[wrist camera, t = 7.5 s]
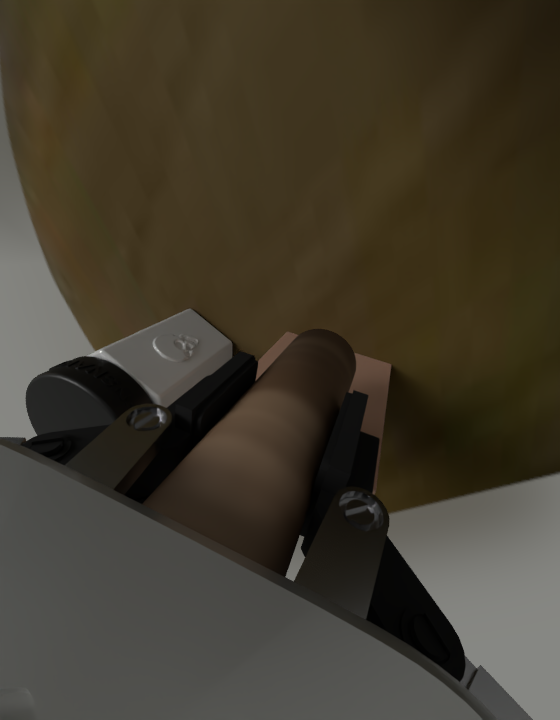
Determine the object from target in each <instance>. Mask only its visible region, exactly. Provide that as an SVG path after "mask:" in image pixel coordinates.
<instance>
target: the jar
mask: <svg viewBox="0 0 560 720" xmlns="http://www.w3.org/2000/svg"><path fill="white" fill-rule="evenodd" d="M231 358H232V342H231V341H230V340H229V339H228V338H227V337H225V336H224V335H223V334H222V333H220V332H219V331H218V330H217V329H215V328H214V327H213V326H212V325H211V324H209V323H208V322H207V321H206V320H204V319H203V318H202V317H201V316H200V315H198V314H197V313H196V312H195V311H194V310H192V309H187V310H185V311H183V312H181V313H178V314H176V315H174V316H172V317H170V318H167V319H165V320H163V321H161V322H159V323H157V324H154V325H152V326H150V327H148V328H146V329H143V330H141V331H139V332H137V333H135V334H132V335H130V336H128V337H126V338H124V339H121V340H119V341H117V342H115V343H113V344H110V345H108V346H106V347H104V348H102V349H99V350H97V351H95V352H93V353H91V354H89V355H87V356H84V357H78V358H76V359H73V360H70V361H66V362H63V363H61V364H59V365H56V366H54V367H52V368H50V369H49V371H47V372H44V373H42V374H40V375H38V376H37V377H35V378H34V379H33V380H32V381H31V382H30V384H29V386H28V388H27V392H26V407H27V412H28V416H29V419H30V421H31V424H32V426H33V428H34V430H35V432H36V434H37V435H41V434H45V433H49V432H56V431H64V430H72V429H79V428H87V427H95V426H103V425H110V424H112V423H113V422H114V421H115V420H116V419H118V418H119V417H120V416H121V415H122V414H123V413H124V412H126V411H127V410H129V409H130V408H132V407H135V406H137V405H142V404H157V405H161V406H163V407H166V408H167V407H168V406H169V405H171V404H172V403H173V402H174V401H176V400H177V399H178V398H179V397H181V396H182V395H183V394H184V393H186V392H187V391H188V390H189V389H191V388H192V387H193V386H194V385H196V384H197V383H198V382H199V381H201V380H202V379H203V378H204V377H206V376H208V375H211V374H213V373H214V372H215V371H216V370H218V369H219V368H220V367H221V366H223V365H224V364H225V363H226V362H227V361H229V360H230V359H231Z"/></svg>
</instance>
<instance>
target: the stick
mask: <svg viewBox="0 0 560 720" xmlns="http://www.w3.org/2000/svg"><path fill="white" fill-rule="evenodd" d="M355 372H356V358H355V354H354V352H353V350H352V348H351V346H350V345H349V344H348V342H347V341H346V340H345V339H343V338H342V337H341V336H339V335H338V334H336V333H334V332H332V331H329V330H324V329H312V330H308V331H305V332H303V333H301V334H300V335H298V336H297V337H296V338H295V339H294V340H293V341H292V342H291V343H290V344H289V345H288V346H287V348H286V349H285V350H284V351H283V352H282V353H281V354H280V355H279V356H278V357H277V358H276V359H275V361H274V362H273V363H272V364H271V365H270V366H269V367H268V368H267V369H266V370H265V371H264V372H263V374H262V375H261V376H260V377H259V378H258V379H257V380H256V381H255V382H254V383H253V384H252V385H251V387H250V388H249V389H248V390H247V391H246V392H245V393H244V394H243V395H242V396H241V397H240V398H239V400H238V401H237V402H236V403H235V404H234V405H233V406H232V407H231V408H230V409H229V410H228V411H227V413H226V414H225V415H224V416H223V417H222V418H221V419H220V420H219V421H218V422H217V423H216V424H215V426H214V427H213V428H212V429H211V430H210V431H209V432H208V433H207V434H206V435H205V436H204V437H203V439H202V440H201V441H200V442H199V443H198V444H197V445H196V446H195V447H194V448H193V449H192V450H191V452H190V453H189V454H188V455H187V456H186V457H185V458H184V459H183V460H182V461H181V462H180V463H179V465H178V466H177V467H176V468H175V469H174V470H173V471H172V472H171V473H170V474H169V475H168V476H167V478H166V479H165V480H164V481H163V482H162V483H161V484H160V485H159V486H158V487H157V488H156V489H155V491H154V492H153V493H152V494H151V495H150V496H149V497H148V498H147V499H146V500H145V501H144V502H143V504H142V505H144V506H146V507H148V508H150V509H152V510H154V511H156V512H158V513H160V514H162V515H164V516H166V517H168V518H170V519H172V520H174V521H176V522H178V523H180V524H182V525H184V526H186V527H188V528H190V529H192V530H194V531H196V532H198V533H200V534H202V535H204V536H206V537H207V538H209V539H211V540H213V541H215V542H217V543H219V544H221V545H223V546H225V547H227V548H229V549H231V550H233V551H235V552H237V553H239V554H241V555H243V556H245V557H247V558H249V559H251V560H252V561H254V562H256V563H258V564H260V565H262V566H264V567H266V568H268V569H270V570H272V571H274V572H276V573H278V574H280V575H282V576H284V577H285V576H286V573H287V570H288V568H289V565H290V562H291V559H292V556H293V553H294V550H295V547H296V544H297V541H298V538H299V535H300V533H301V530H302V527H303V524H304V521H305V518H306V515H307V512H308V509H309V506H310V502H311V492H312V489H313V486H314V483H315V480H316V477H317V474H318V471H319V468H320V465H321V462H322V459H323V456H324V453H325V450H326V448H327V445H328V442H329V439H330V436H331V434H332V431H333V428H334V425H335V423H336V420H337V417H338V414H339V411H340V409H341V406H342V403H343V400H344V397H345V395H346V392H349V390H350V387H351V384H352V381H353V378H354V375H355Z"/></svg>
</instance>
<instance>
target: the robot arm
mask: <svg viewBox="0 0 560 720" xmlns="http://www.w3.org/2000/svg"><path fill="white" fill-rule="evenodd" d="M257 369H258V361H256V360H255V357H254V356H253V355H250V354H247V353H244V352H241V351H240V352H239V353H237V354H236V355H235V356H234V357H232V358H231V359H230V360H229V361H227V362H226V363H225V364H224V365H223V366H221V367H220V368H219V369H218V370H216V371H215V372H214V373H213V374H211V375H208V376H206V377H204V378H203V379H202V380H201V381H199V382H198V383H197V384H196V385H194V386H193V387H192V388H191V389H189V390H188V391H187V392H186V393H184V394H183V395H182V396H181V397H179V398H178V399H177V400H176V401H174V402H173V403H172V404H171V405H169V406H168V407H167V408H166V407H163V406H161V405H157V404H142V405H137V406H135V407H132V408H130V409H129V410H127V411H126V412H124V413H123V414H122V415H121V416H120V417H119V418H118V419H116V420H115V421H114V422H113V423H112V424H110V425H103V426H95V427H87V428H79V429H72V430H64V431H56V432H49V433H45V434H41V435H38V436H36V437H33V438H31V439H30V440H28V441H26V439H25V438H17V437H16V438H15V437H12V438H11V437H0V720H533V719H532V718H531V717H530V716H529V715H528V714H527V713H526V712H525V711H524V710H523V709H522V708H521V707H520V706H519V705H518V704H517V703H516V701H515V700H514V699H513V698H512V697H511V696H510V695H509V694H508V693H507V692H506V691H505V690H504V689H503V688H502V687H501V686H500V685H499V684H498V683H497V682H496V681H495V679H494V678H493V677H492V676H491V675H490V674H489V673H488V672H487V671H486V670H485V669H484V668H483V667H482V666H481V665H480V666H479V667H478V668H476V667H475V666H474V665H473V664H472V663H471V662H470V661H469V660H468V659H467V657H465V655H464V650H463V647H462V644H461V642H460V639H459V637H458V635H457V633H456V632H455V630H454V628H453V627H452V625H451V624H450V622H449V621H448V619H447V618H446V617H445V615H444V614H443V613H442V611H441V610H440V609H439V607H438V606H437V605H436V603H435V601H434V600H433V599H432V597H431V596H430V594H429V593H428V592H427V590H426V589H425V588H424V586H423V585H422V583H421V582H420V581H419V579H418V578H417V576H416V575H415V574H414V572H413V571H412V570H411V568H410V567H409V565H408V564H407V563H406V561H405V560H404V558H403V557H402V556H401V554H400V553H399V551H398V550H397V549H396V547H395V546H394V545H393V543H392V542H391V540H390V539H389V538H388V536H387V532H388V527H389V515H388V512H387V509H386V508H385V506H384V504H383V503H382V502H381V501H380V500H379V499H378V498H377V497H376V496H375V495H374V494H373V487H374V479H375V472H376V464H377V457H378V449H379V442H380V439H379V438H378V437H375V436H373V435H370V434H367V433H364V432H362V431H361V427H362V422H363V418H364V414H365V409H366V405H367V400H368V396H369V395H367V394H364V393H361V392H358V391H355V390H353V393H349V392H346V395H345V397H344V400H343V403H342V406H341V409H340V411H339V414H338V417H337V420H336V423H335V425H334V428H333V431H332V434H331V436H330V439H329V442H328V445H327V448H326V450H325V453H324V456H323V459H322V462H321V465H320V468H319V471H318V474H317V477H316V480H315V483H314V486H313V489H312V492H311V502H310V506H309V509H308V512H307V515H306V518H305V521H304V524H303V527H302V530H301V533H300V535H301V536H304V540H303V543H302V546H301V550H302V552H303V554H304V556H305V559H304V562H303V564H302V566H301V568H300V570H299V572H298V574H297V576H296V578H295V580H294V582H293V581H291V580H289V579H287V578H286V577H284V576H282V575H280V574H278V573H276V572H274V571H272V570H270V569H268V568H266V567H264V566H262V565H260V564H258V563H256V562H254V561H252V560H251V559H249V558H247V557H245V556H243V555H241V554H239V553H237V552H235V551H233V550H231V549H229V548H227V547H225V546H223V545H221V544H219V543H217V542H215V541H213V540H211V539H209V538H207V537H206V536H204V535H202V534H200V533H198V532H196V531H194V530H192V529H190V528H188V527H186V526H184V525H182V524H180V523H178V522H176V521H174V520H172V519H170V518H168V517H166V516H164V515H162V514H160V513H158V512H156V511H154V510H152V509H150V508H148V507H146V506H144V505H142V504H143V502H144V501H145V500H146V499H147V498H148V497H149V496H150V495H151V494H152V493H153V492H154V491H155V489H156V488H157V487H158V486H159V485H160V484H161V483H162V482H163V481H164V480H165V479H166V478H167V476H168V475H169V474H170V473H171V472H172V471H173V470H174V469H175V468H176V467H177V466H178V465H179V463H180V462H181V461H182V460H183V459H184V458H185V457H186V456H187V455H188V454H189V453H190V452H191V450H192V449H193V448H194V447H195V446H196V445H197V444H198V443H199V442H200V441H201V440H202V439H203V437H204V436H205V435H206V434H207V433H208V432H209V431H210V430H211V429H212V428H213V427H214V426H215V424H216V423H217V422H218V421H219V420H220V419H221V418H222V417H223V416H224V415H225V414H226V413H227V411H228V410H229V409H230V408H231V407H232V406H233V405H234V404H235V403H236V402H237V401H238V400H239V398H240V397H241V396H242V395H243V394H244V393H245V392H246V391H247V390H248V389H249V388H250V387H251V385H252V384H253V383H254V382H255V381H256V375H257Z"/></svg>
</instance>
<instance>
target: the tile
mask: <svg viewBox="0 0 560 720" xmlns="http://www.w3.org/2000/svg"><path fill="white" fill-rule="evenodd" d="M297 336H298V335H296V334H293V333H290V332H286V333H285V334H284V335H283V336H282V337H281V338H280V339H279V340H278V341H277V342H276V343H275V344H274V345H273V346H272V347H271V348H270V349H269V350H268V351H267V352H266V353H265V354H264V356H263V357H262V358H261V359H260V360H259V361H258V369H257V375H256V380H257V379H258V378H259V377H260V376H261V375H262V374H263V372H264V371H265V370H266V369H267V368H268V367H269V366H270V365H271V364H272V363H273V362H274V361H275V359H276V358H277V357H278V356H279V355H280V354H281V353H282V352H283V351H284V350H285V349H286V348H287V346H288V345H289V344H290V343H291V342H292V341H293V340H294V339H295V338H296V337H297ZM354 354H355V358H356V372H355V375H354V378H353V381H352V384H351V387H350V390H349V393H353V390H355V391H358V392H361V393H364V394H367V395H369V396H368V400H367V405H366V409H365V414H364V418H363V422H362V427H361V431H362V432H364V433H367V434H370V435H373V436H375V437H378V438H379V439H380V442H379V449H378V457H377V464H376V472H375V479H374V487H373V494H375V492H376V486H377V478H378V469H379V461H380V453H381V445H382V437H383V429H384V421H385V412H386V404H387V396H388V388H389V380H390V372H391V364H388V363H385V362H382V361H379V360H376V359H372V358H369V357H366V356H363V355H360V354H357V353H354Z"/></svg>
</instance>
